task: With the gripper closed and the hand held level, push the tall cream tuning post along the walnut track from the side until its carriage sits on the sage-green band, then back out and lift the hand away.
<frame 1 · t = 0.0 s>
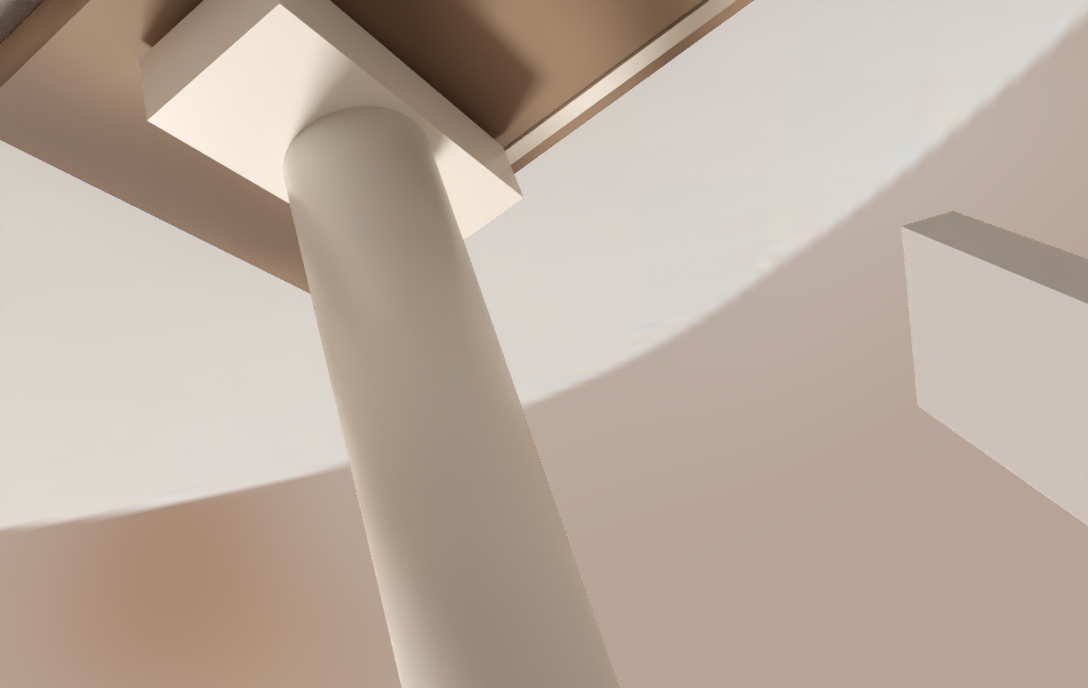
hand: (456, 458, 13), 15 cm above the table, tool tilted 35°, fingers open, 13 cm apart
tuning slider: (427, 403, 20), point 11 cm above the table, slide at -8.0 cm
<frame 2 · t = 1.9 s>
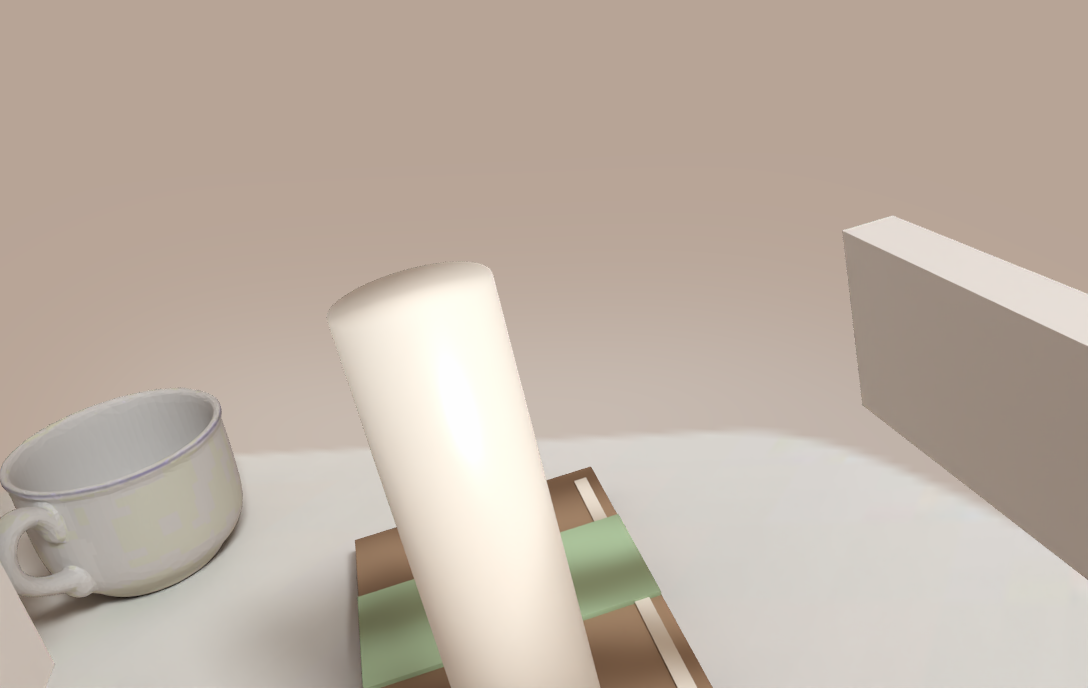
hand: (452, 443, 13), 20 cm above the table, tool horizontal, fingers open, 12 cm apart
tuning slider: (509, 628, 24), point 11 cm above the table, slide at -8.0 cm
teacup: (146, 580, 52), on the table
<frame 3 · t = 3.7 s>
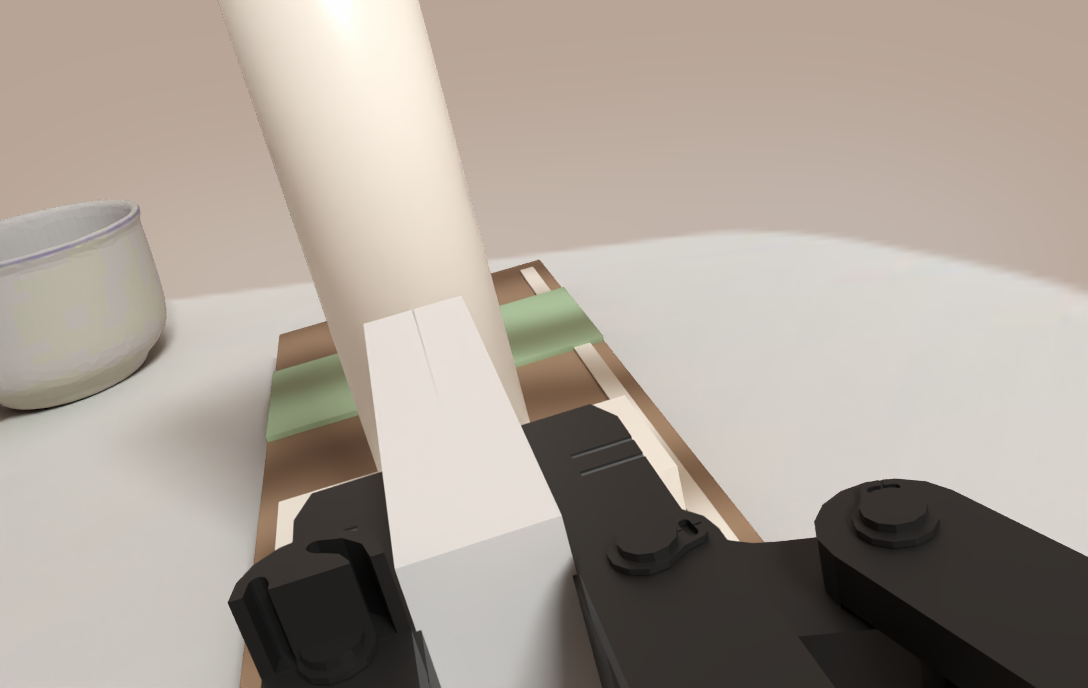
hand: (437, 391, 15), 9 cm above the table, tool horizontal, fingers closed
tuning slider: (379, 196, 20), point 11 cm above the table, slide at -8.0 cm
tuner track: (462, 467, 31), on the table
teacup: (59, 399, 47), on the table
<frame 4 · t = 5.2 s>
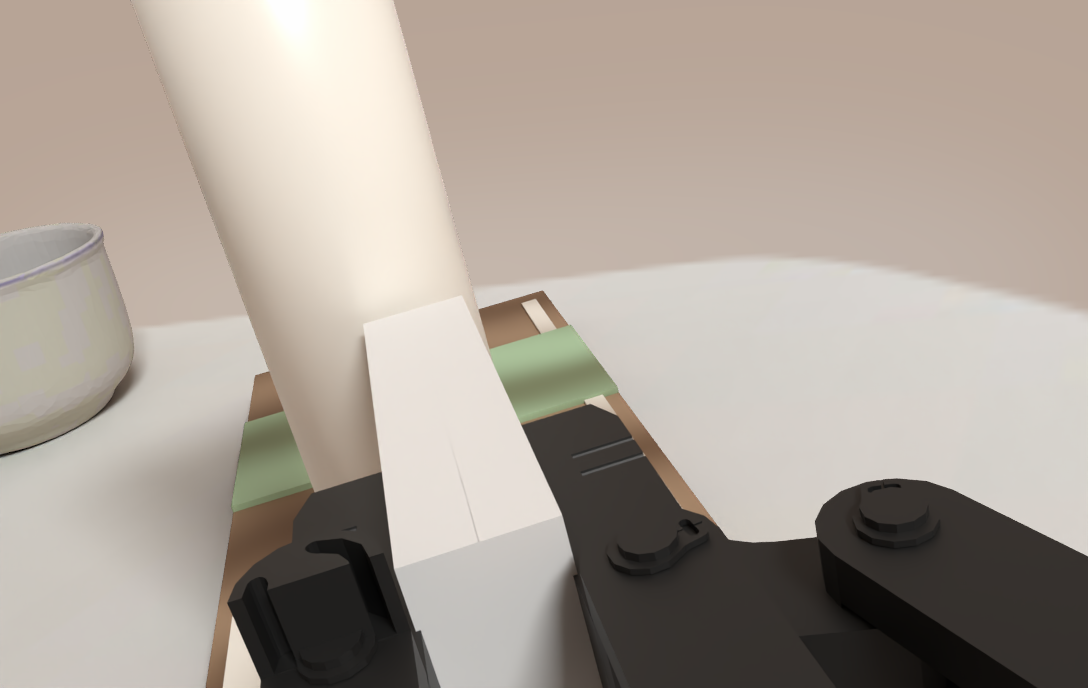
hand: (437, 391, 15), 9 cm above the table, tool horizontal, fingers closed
tuning slider: (347, 253, 16), point 11 cm above the table, slide at -7.9 cm, touching gripper
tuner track: (456, 544, 27), on the table
teacup: (15, 443, 43), on the table
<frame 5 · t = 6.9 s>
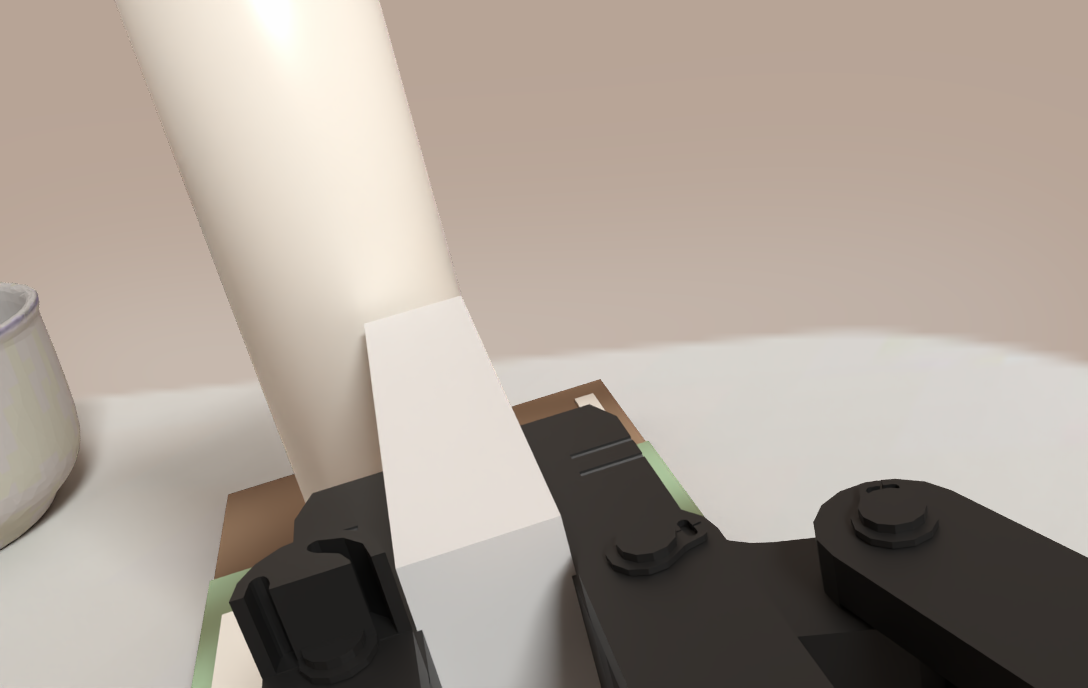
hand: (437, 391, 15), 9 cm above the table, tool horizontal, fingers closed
tuning slider: (335, 255, 16), point 11 cm above the table, slide at 1.9 cm, touching gripper
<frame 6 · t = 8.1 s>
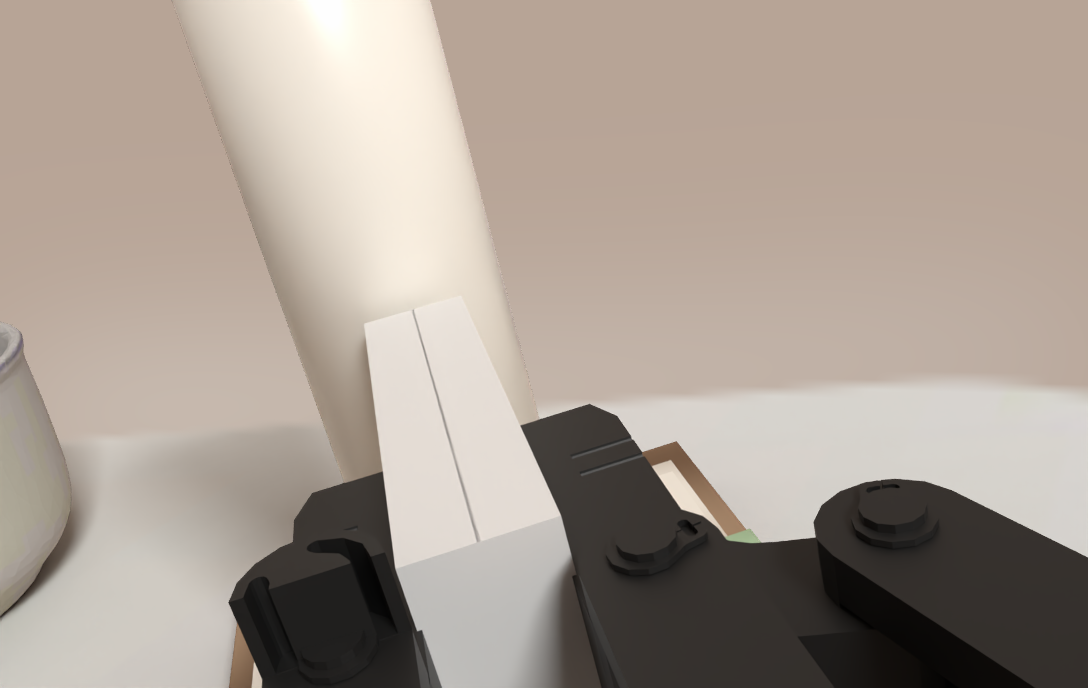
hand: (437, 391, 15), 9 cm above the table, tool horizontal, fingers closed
tuning slider: (380, 246, 16), point 11 cm above the table, slide at 6.9 cm, touching gripper
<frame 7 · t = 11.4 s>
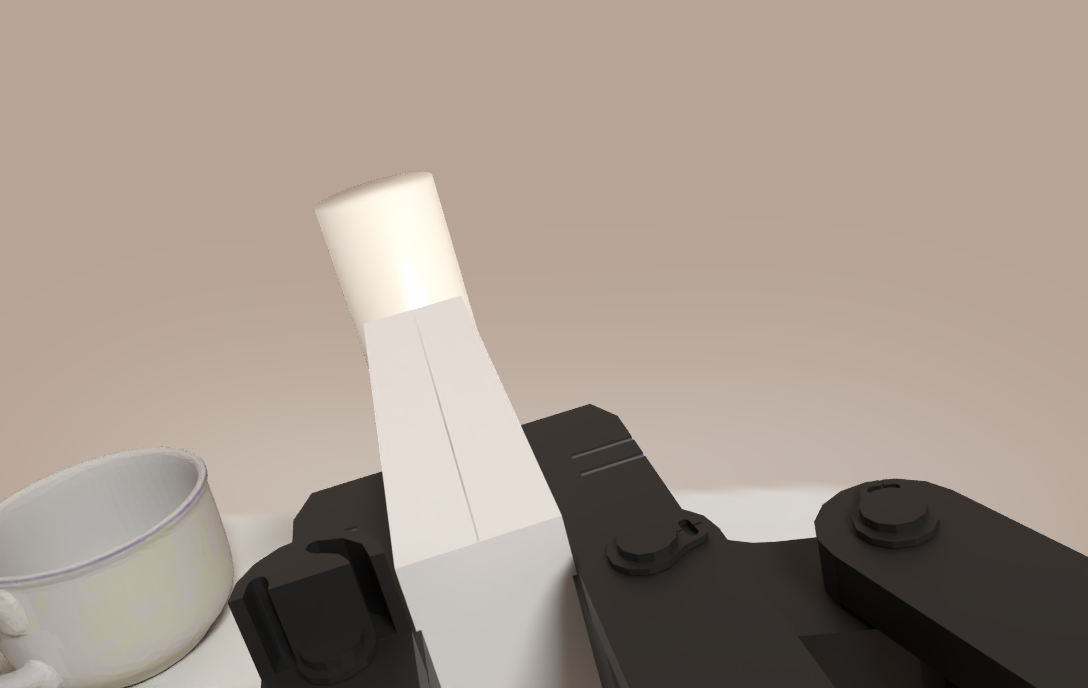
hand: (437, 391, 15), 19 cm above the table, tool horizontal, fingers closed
tuning slider: (456, 453, 32), point 11 cm above the table, slide at 7.6 cm
teacup: (124, 669, 45), on the table
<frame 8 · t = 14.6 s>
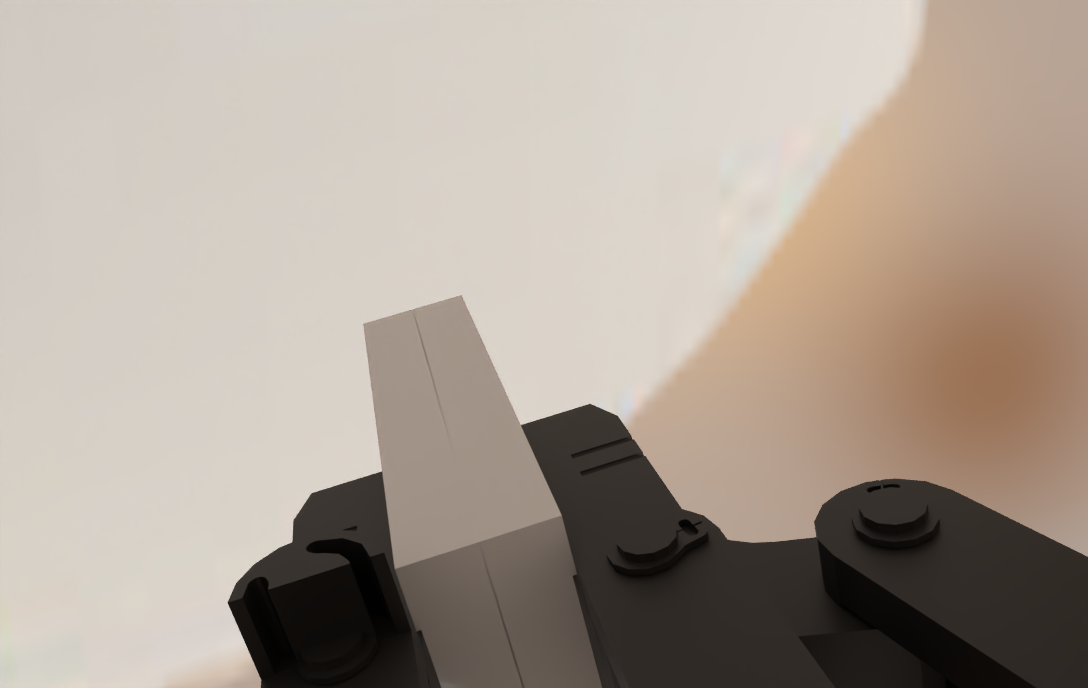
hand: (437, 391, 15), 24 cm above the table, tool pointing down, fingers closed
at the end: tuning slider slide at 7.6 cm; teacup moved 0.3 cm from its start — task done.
